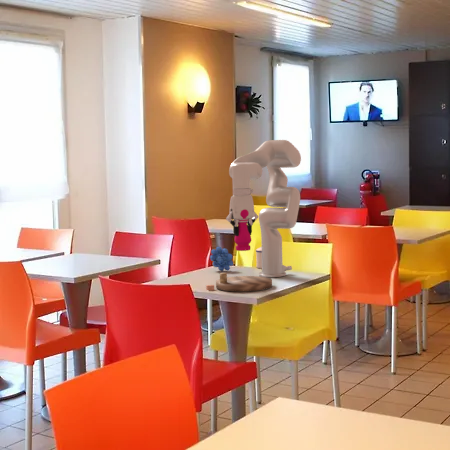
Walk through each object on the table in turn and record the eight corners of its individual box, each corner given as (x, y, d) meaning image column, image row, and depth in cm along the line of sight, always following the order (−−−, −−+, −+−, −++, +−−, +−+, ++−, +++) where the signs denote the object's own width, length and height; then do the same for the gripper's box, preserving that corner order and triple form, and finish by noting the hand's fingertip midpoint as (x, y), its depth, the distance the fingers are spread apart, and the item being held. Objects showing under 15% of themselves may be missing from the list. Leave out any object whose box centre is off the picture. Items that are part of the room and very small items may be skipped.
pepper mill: (250, 251, 336) (248, 203, 334) (233, 251, 337) (231, 204, 335) (252, 248, 343) (251, 202, 341) (236, 248, 344) (235, 202, 342)
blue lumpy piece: (207, 272, 386) (207, 247, 384) (211, 270, 392) (210, 245, 391) (231, 272, 383) (230, 247, 382) (234, 270, 389) (233, 245, 388)
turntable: (257, 279, 357) (257, 265, 356) (281, 288, 335) (281, 272, 334) (207, 284, 348) (207, 270, 347) (229, 293, 326) (228, 277, 325)
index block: (213, 289, 339) (212, 284, 339) (214, 290, 337) (214, 285, 337) (206, 289, 338) (206, 285, 338) (207, 290, 336) (207, 285, 336)
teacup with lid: (273, 268, 390) (273, 245, 389) (255, 269, 392) (254, 245, 391) (275, 265, 402) (275, 242, 401) (257, 265, 403) (257, 242, 402)
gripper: (255, 191, 345) (256, 232, 346) (219, 193, 337) (220, 235, 339) (263, 191, 338) (264, 234, 340) (227, 194, 330) (228, 237, 332)
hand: (242, 234), depth 339 cm, fingers closed on pepper mill, 5 cm apart
